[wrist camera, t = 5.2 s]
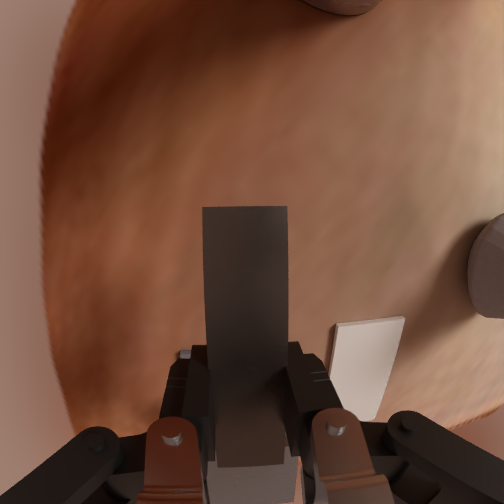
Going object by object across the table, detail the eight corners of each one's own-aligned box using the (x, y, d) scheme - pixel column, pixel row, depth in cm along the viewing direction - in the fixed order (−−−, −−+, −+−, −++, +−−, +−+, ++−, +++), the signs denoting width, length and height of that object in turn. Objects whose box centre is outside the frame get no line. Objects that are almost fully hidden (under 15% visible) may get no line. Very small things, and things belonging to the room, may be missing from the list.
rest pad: (336, 323, 25) (338, 326, 24) (402, 315, 25) (405, 318, 25) (317, 426, 29) (318, 430, 28) (372, 416, 29) (374, 419, 29)
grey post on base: (188, 217, 11) (174, 208, 8) (292, 215, 12) (313, 206, 9) (209, 481, 12) (206, 522, 9) (287, 477, 12) (298, 517, 9)
